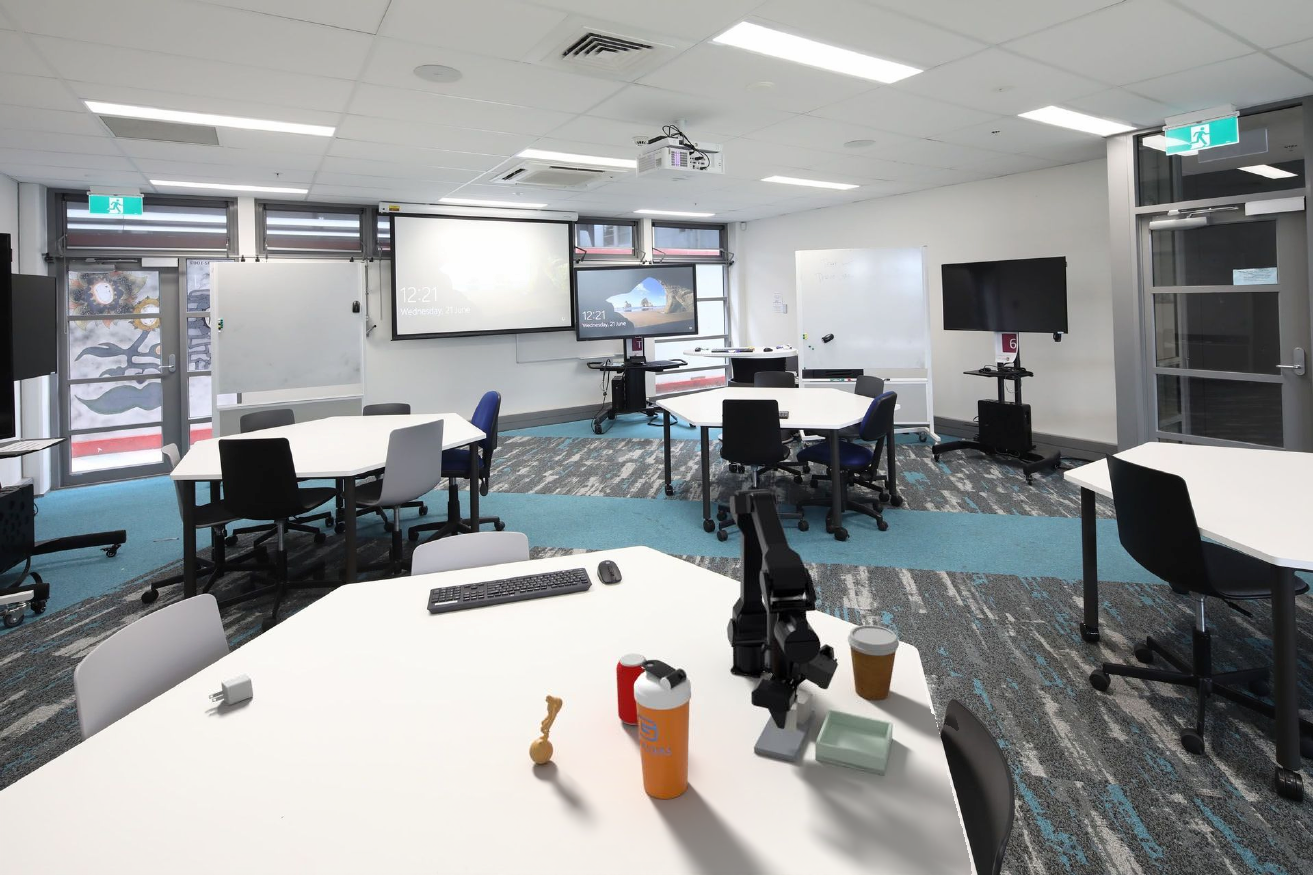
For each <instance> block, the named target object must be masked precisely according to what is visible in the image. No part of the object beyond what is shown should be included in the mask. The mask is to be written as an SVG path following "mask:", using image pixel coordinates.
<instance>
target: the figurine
mask: <svg viewBox="0 0 1313 875" xmlns="http://www.w3.org/2000/svg"><path fill="white" fill-rule="evenodd" d="M545 698H546V699H545V702H546V703H547V708H546V711H547V713H548V714H547V716H545V717H544V718H543V719H542V721H541V723H540V724H541V727H540V732H541V733H542V734H543V735H542V736H540V737H539V738H537V739H535V740H534V741H533V742H532V743H531V745H530V746H529V750H528V751H529V754H528V755H529V757H530V759H531V760H532V762H533V763H535V764H540V765H541V764H546V763H547V762H549V761H550V759H551V758H552V756H553V753H554V746H553V743H552V742H551V741H550V740H549V737H550V730H551V728H552V726H553V724H554V721H555V720H556V717H557V715H558V714H559V713H560V710H561V709H562V707H563V700H562V698H561V697H558V696H553V695H550V694H549V695H548V694H547V695H546V697H545Z"/></svg>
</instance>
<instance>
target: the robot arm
mask: <svg viewBox="0 0 1313 875" xmlns="http://www.w3.org/2000/svg"><path fill="white" fill-rule="evenodd" d="M778 509H779V508H778V497H777V493H775V492H771V491H768V489H766V488H765V489H764V488H762V489H759V488H758V489H744V490H743V489H742V490H739V489H738V490H736V491H735V492H734V493H733V494H732V496H729V510H730V514H731V515H732V518H733V520H734V522H735V524H736V526H737V528H738V530H739V531H740V570H739V571H740V579H739V582H740V587H739V588H740V592H739V593H740V595H739V598H738V599H737V601H736V602H735V603H734V605H733V607H732V611H731V612H732V614H731V615H732V616H731V617H732V618H729V621H728V623H727V624H728V625H727V627H726V633H727V639H728V641H729V644H730V647H731V648H732V667H731V668H730V671H729V672H730V673H731V674H737V675H742V676H747V677H753V678H757V679H758V678H761V677H762V675H763V674H764V673H765V674H771V675H770V678H769V679H766V678H761V680H759V681H757V683H756V685H754V688H753V689H752V690H751V696H750V697H751V698H750V699H751V700H750V701H751V704H752V705H753V707H754V706H755V707H758V708H763V709H767V710H768V712H769V713H770V716H772V718H773V720H774V721H775V723H776V725H777V727H778V728H780V729H784V728H785V723H786V718H787V713H788V711H790V709H791V707H792V705H793V704H794V703H795V701H796V699H797V697H798V695H796V694H797V690H799V686H800V684H802V683H803V682H805V680H806V681H809V682H811V683H813V684H815V685H816V686H817V687H818V688H820V689H822V690H828V689H829V687H830V684H831V682H832V679H833V677H834V675H835V672H836V670H837V668H838V666H839V664H838V658H835V649H834V647H833V646H831V645H829V644H827V643H825V644H824V645H821V640H820V637H819V635H818V634H817V633H816V631H815V630H814V628H813V627H812V626H811V624H810V622H809V621H808V619H807V618H808V617H807V612H812V611H813V612H815V611H816V608H817V607H816V602H817V600H818V599H817V598H818V597H817V593H816V590H815V585H814V582H813V578H812V577H813V576H812V574H811V573H810V572H809V571H810V570H809V569H808V568H807V567H806V565H805V564H804V561H803V559H802V557H801V555H800V554H799V553H798V552H797V551H796V550H794V549H792V548H791V547H790V545H789V542H788V539H787V537H786V533H785V530H784V527H783V524H782V521H781V517H780V514H779V511H778ZM804 595H805V596H804ZM803 596H804V597H805V598H801V599H799V598H798V597H803ZM795 597H797V598H798V599H795Z"/></svg>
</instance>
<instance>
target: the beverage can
mask: <svg viewBox="0 0 1313 875" xmlns="http://www.w3.org/2000/svg"><path fill="white" fill-rule="evenodd" d="M645 661H647V659H646V657H645V656H644V655H643V654H640V653H628V654H624V655H623V656H622V657H621V658H620V659H619V660H618V663H617V664H616V667H615V668H616V670H615V672H616V689H617V694H616V695H617V714H618V715H617V716H618V717H619V719H620V721H622V722H623V723H624V724H627V725H631V726H632V725H633V726H638V717H637V706H636V700H635V698H634V683H635V682H636V680H637V679H638V677H639V676H640V675H641V674H642V673H644V672H645V670H643V669H642V663H643V662H645Z"/></svg>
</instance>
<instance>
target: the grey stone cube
mask: <svg viewBox="0 0 1313 875" xmlns="http://www.w3.org/2000/svg"><path fill="white" fill-rule="evenodd" d="M796 695H798V719H797V723H800V724H803V725H804V724H805V722H806V721H807V720H808V718H809V717H810V716H811V714H812V710H813V709H812V708H813V707H812V706H813V702H812V700H813V694H812V693H811V692H806V691H803V690H799V689H798V690H797V694H796Z"/></svg>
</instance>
